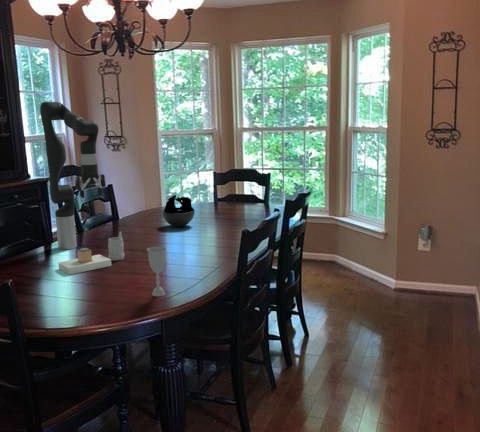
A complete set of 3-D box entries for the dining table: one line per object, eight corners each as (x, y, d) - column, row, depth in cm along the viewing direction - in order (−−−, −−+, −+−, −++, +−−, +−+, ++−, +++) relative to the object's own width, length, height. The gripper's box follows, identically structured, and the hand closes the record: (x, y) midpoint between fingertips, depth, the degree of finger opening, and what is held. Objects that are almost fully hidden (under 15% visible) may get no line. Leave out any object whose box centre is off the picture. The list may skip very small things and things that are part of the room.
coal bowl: (193, 229, 308) (192, 199, 305) (160, 230, 309) (158, 199, 305) (196, 223, 328) (195, 193, 324) (165, 223, 328) (164, 194, 325)
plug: (78, 267, 235) (77, 249, 233) (88, 265, 238) (86, 247, 236) (82, 269, 232) (81, 251, 230) (92, 267, 235) (91, 249, 233)
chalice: (168, 290, 201) (167, 246, 198) (167, 296, 195) (165, 251, 191) (150, 291, 201) (148, 246, 198) (147, 297, 195) (145, 251, 191)
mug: (105, 260, 246) (104, 236, 243) (116, 253, 257) (114, 230, 255) (120, 261, 244) (119, 236, 242) (130, 254, 256) (129, 231, 253)
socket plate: (58, 268, 233) (58, 262, 232) (100, 260, 246) (99, 254, 245) (69, 274, 224) (68, 268, 223) (111, 265, 237) (111, 259, 236)
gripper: (99, 161, 252) (101, 194, 255) (71, 163, 243) (73, 197, 246) (106, 162, 246) (108, 196, 249) (77, 165, 237) (80, 199, 240)
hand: (91, 196), depth 248 cm, fingers open, 8 cm apart
